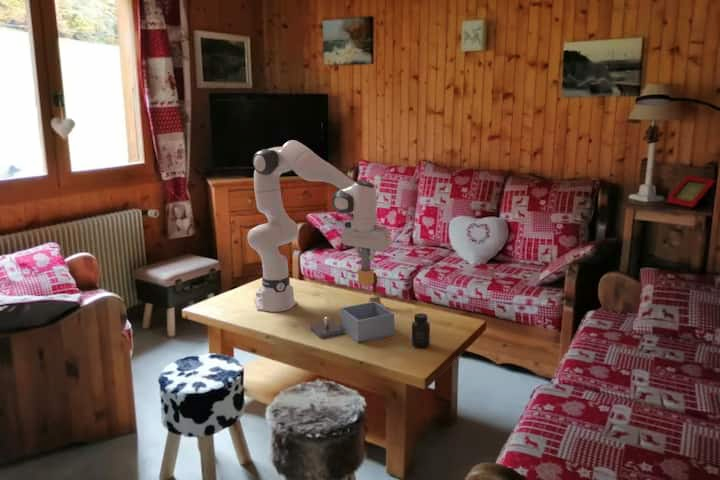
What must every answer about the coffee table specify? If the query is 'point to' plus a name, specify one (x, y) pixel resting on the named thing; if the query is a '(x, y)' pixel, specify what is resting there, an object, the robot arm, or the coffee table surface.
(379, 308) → the bin
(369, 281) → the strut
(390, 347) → the coffee table surface
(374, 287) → the hand bell
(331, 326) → the ball stud base
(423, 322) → the supplement bottle
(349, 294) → the coffee table surface
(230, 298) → the coffee table surface
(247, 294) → the coffee table surface
